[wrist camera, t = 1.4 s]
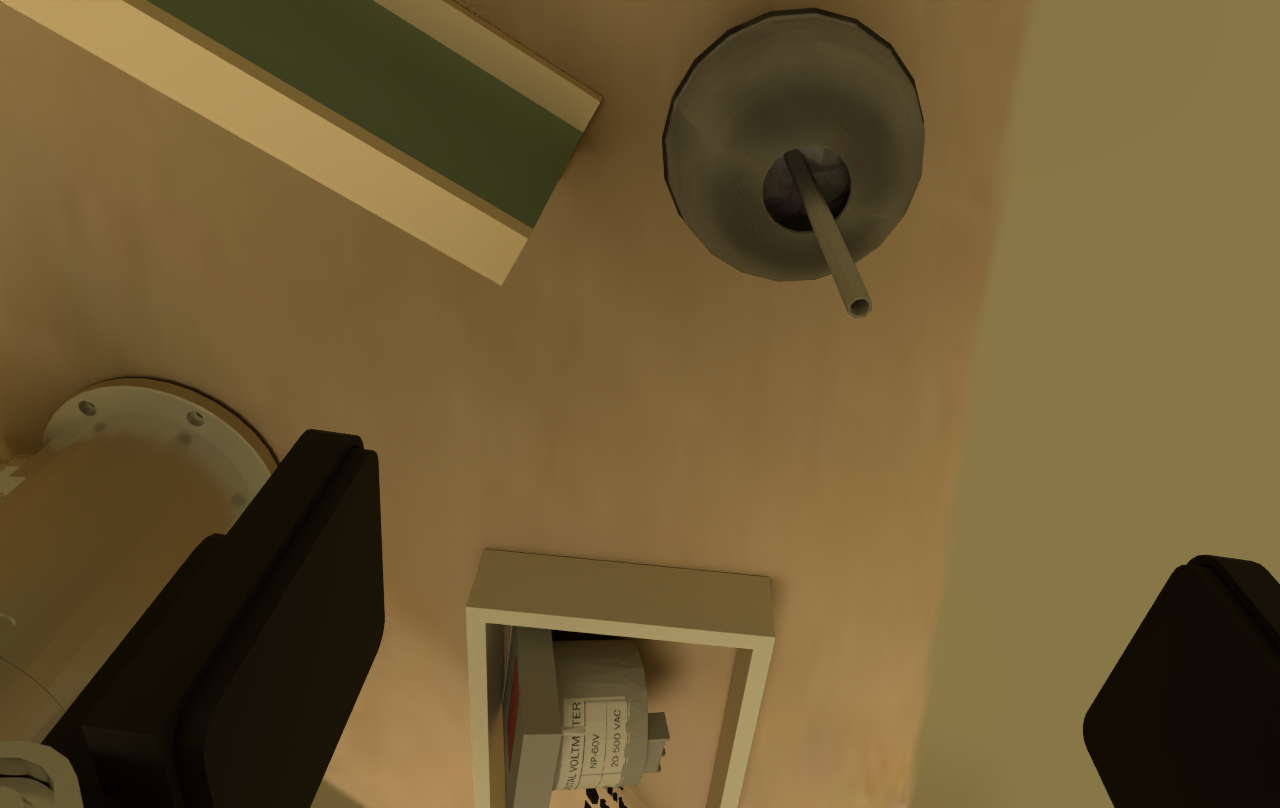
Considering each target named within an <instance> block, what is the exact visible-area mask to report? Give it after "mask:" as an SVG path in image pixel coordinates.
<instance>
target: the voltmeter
mask: <svg viewBox="0 0 1280 808" xmlns="http://www.w3.org/2000/svg"><path fill="white" fill-rule="evenodd" d="M502 710H503V737H504V765H505V792H506V808H549V804H550V798H551V792H552V791H554V790H571V789H586V795H587V796H588V798H589V799H590V801H591V803H592V804H597V803H598V799H599V796H598V794H597V791H596V788H606V790H607V787H608V791H607V792H608V793H609V794H611V796H612V793H613V788H612V787H618V788H620V789H621V790H623V788H622V786H636V785H637V784H638V783H639V782H640V780H641V777H642V774H643V773H651V772H660V771H661V767H660V759H661V757H664V756H665V754H666V753H665V749H664V745H665V741H669V739H670V736H669V732H668V727H667V723H666V718H665V714H664V712H659V713H648V705H647V688H646V680H645V673H644V667H643V663H642V659H641V656H640V652H639V650H638V647H637V645H636V643H635V642H633V641H632V640H587V641H552V634H551V629H543V628H533V627H523V626H513V625H511V631H510V639H509V648H508V656H507V665H506V673H505V681H504V690H503V698H502ZM613 800H614V801H616V803H617V793H613ZM605 802H606V801H605V799H600V807H601V808H609V806H607V805H606V804H605ZM584 808H591V806H590V805H589V804H588V802H587V801H586V800H585V807H584ZM619 808H627V807H626V806H625V805H624V803H623V801H622V797H619Z"/></svg>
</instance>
